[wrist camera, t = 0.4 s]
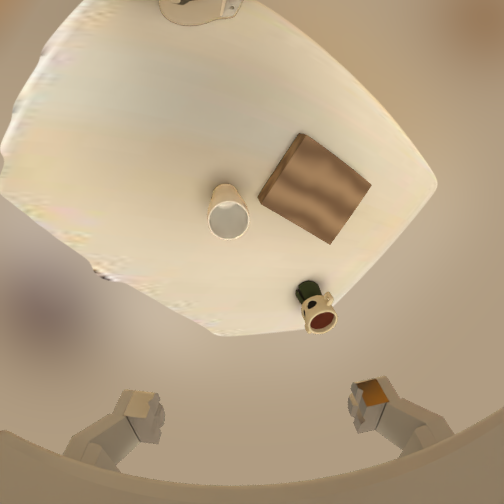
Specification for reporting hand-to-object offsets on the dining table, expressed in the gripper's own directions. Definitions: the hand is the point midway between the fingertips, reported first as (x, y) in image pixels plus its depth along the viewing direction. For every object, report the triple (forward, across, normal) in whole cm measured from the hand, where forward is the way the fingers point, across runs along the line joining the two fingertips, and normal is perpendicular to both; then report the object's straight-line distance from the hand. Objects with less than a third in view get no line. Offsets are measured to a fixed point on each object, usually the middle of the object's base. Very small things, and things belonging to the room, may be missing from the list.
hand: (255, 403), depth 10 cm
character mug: (+57, -14, +21) cm, 62 cm away
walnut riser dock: (+51, -14, -5) cm, 54 cm away
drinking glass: (+50, +4, -4) cm, 50 cm away
